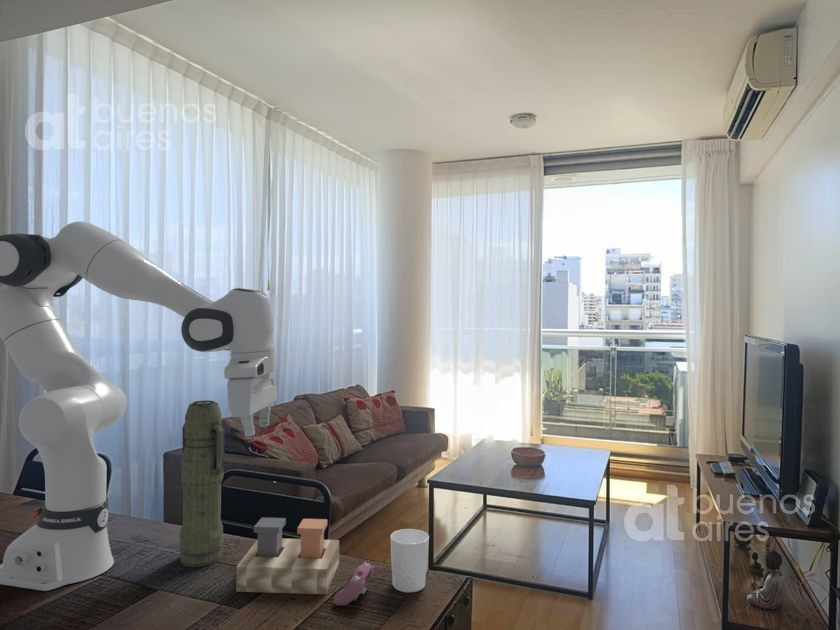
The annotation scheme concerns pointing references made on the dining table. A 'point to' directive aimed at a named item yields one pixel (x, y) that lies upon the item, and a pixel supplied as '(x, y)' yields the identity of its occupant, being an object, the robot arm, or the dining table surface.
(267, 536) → the charcoal plug
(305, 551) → the terracotta plug
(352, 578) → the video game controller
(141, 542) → the dining table surface
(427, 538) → the white cup
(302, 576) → the socket block
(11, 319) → the robot arm
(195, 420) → the thermos
